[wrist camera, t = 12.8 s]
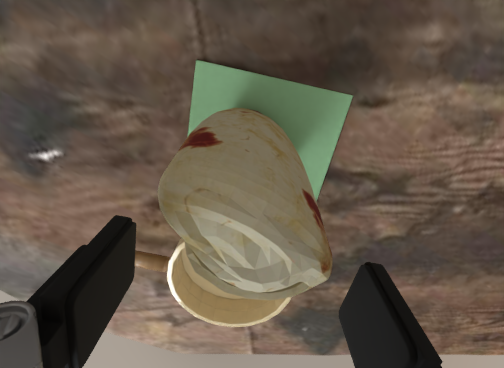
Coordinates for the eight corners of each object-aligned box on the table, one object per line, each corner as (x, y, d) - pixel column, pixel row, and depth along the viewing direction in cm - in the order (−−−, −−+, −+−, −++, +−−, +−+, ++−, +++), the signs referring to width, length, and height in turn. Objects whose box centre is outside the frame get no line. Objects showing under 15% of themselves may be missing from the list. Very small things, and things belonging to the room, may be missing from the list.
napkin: (182, 186, 32) (181, 187, 32) (196, 59, 26) (196, 59, 26) (311, 212, 33) (312, 213, 32) (352, 95, 27) (353, 95, 27)
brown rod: (107, 253, 33) (99, 263, 31) (107, 241, 32) (99, 251, 31) (174, 266, 33) (170, 276, 32) (176, 255, 33) (171, 264, 31)
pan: (173, 288, 39) (162, 315, 34) (184, 196, 32) (173, 215, 28) (275, 307, 39) (277, 336, 35) (305, 221, 33) (311, 243, 29)
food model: (310, 141, 29) (390, 270, 11) (270, 185, 31) (279, 353, 13) (238, 81, 27) (182, 111, 8) (201, 132, 29) (93, 244, 11)
